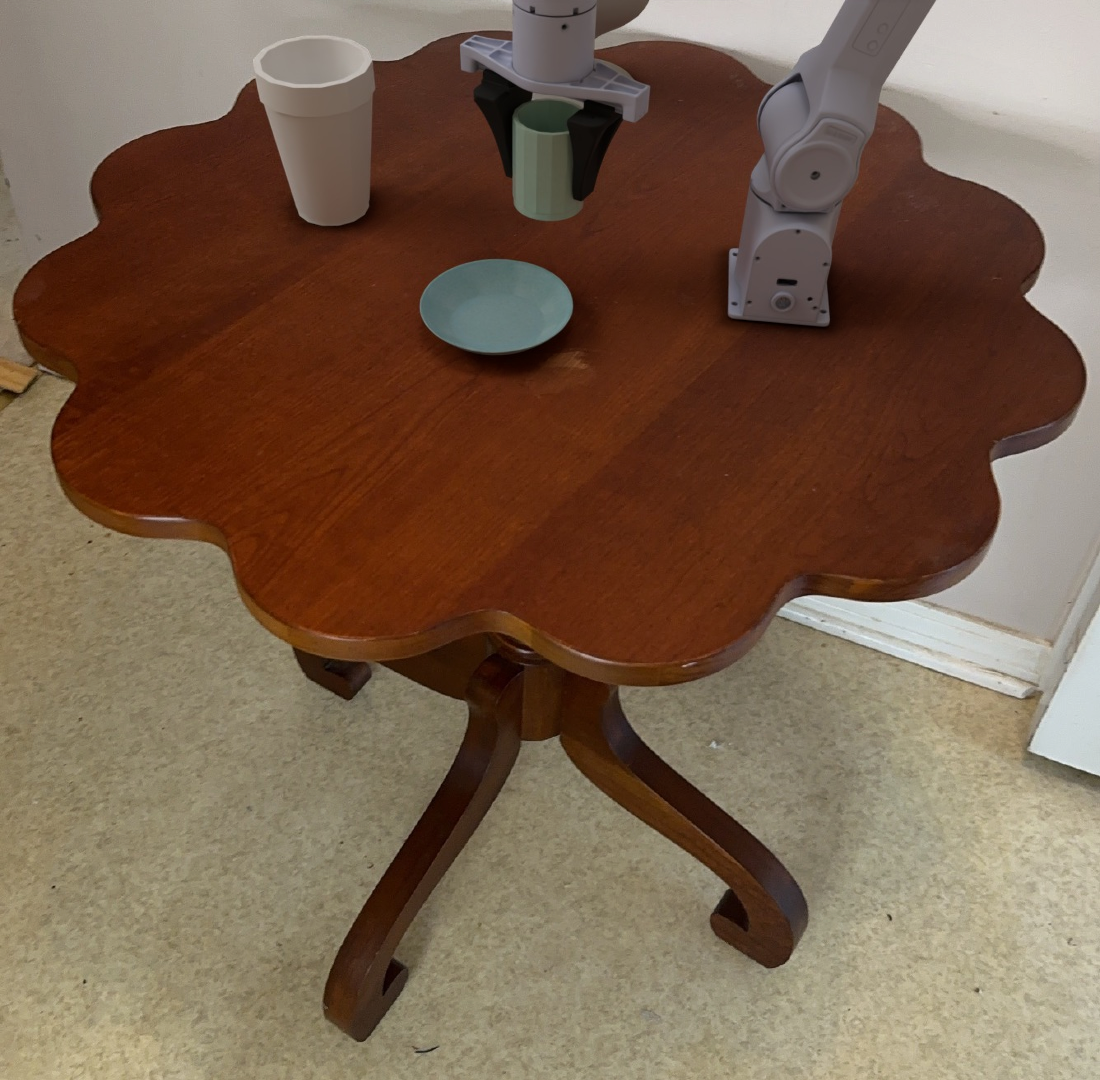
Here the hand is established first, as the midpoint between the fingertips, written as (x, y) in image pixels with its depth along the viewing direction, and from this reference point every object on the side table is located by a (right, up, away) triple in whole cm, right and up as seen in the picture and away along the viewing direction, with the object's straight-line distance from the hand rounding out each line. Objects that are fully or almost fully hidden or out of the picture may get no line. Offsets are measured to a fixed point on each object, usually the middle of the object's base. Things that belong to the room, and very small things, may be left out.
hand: (549, 183), depth 84 cm
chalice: (+3, +19, +29) cm, 35 cm away
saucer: (-4, -11, +2) cm, 12 cm away
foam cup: (-19, +2, +13) cm, 23 cm away
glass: (0, -1, +1) cm, 2 cm away
